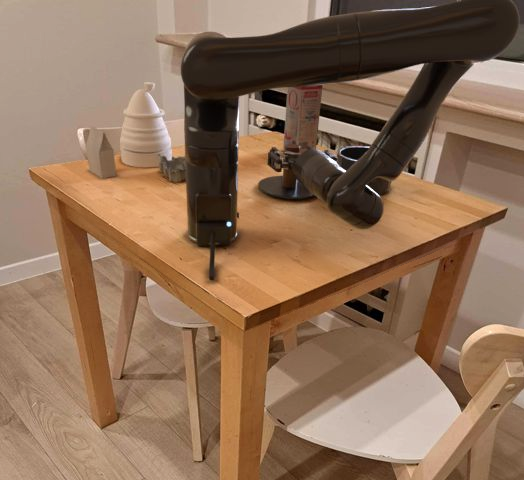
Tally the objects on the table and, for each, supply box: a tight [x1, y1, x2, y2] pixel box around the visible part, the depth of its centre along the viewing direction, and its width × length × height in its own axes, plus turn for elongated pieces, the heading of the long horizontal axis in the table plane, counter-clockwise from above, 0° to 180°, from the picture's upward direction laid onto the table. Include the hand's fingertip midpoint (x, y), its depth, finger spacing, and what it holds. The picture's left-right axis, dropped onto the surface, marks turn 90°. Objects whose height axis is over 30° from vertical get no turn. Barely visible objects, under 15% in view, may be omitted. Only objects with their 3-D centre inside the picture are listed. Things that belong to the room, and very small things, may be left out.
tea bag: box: [85, 125, 117, 179], centre depth 123 cm, size 4×7×10 cm, turn 39°
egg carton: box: [158, 154, 186, 183], centre depth 126 cm, size 11×8×4 cm
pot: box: [335, 145, 392, 196], centre depth 126 cm, size 14×19×8 cm
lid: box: [257, 144, 316, 200], centre depth 120 cm, size 15×15×10 cm
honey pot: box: [119, 81, 173, 168], centre depth 131 cm, size 13×13×18 cm
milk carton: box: [282, 85, 324, 153], centre depth 142 cm, size 7×7×22 cm
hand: (290, 151), depth 117 cm, fingers open, 8 cm apart
